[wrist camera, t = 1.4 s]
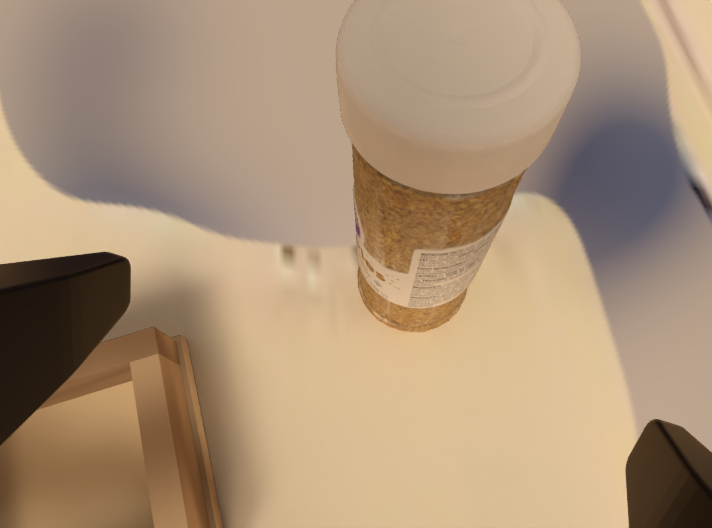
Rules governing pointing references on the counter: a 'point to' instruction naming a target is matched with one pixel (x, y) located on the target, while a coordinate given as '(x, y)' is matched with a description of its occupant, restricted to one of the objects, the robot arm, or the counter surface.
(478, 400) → the counter surface
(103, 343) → the holder
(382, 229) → the sprinkles bottle
